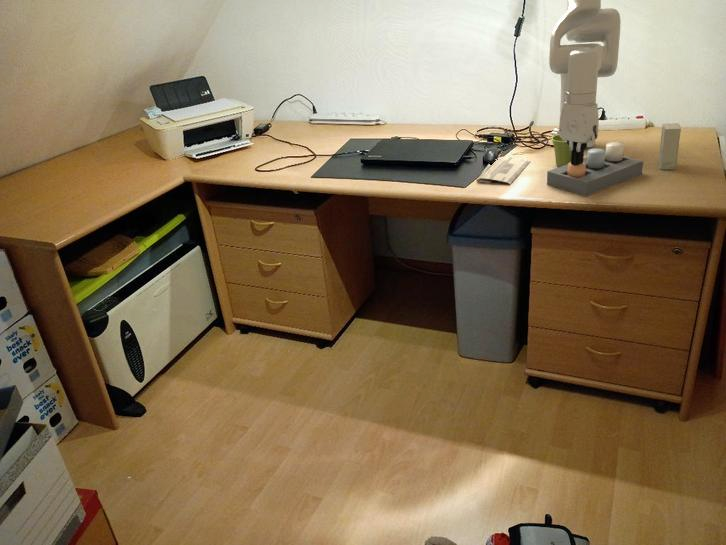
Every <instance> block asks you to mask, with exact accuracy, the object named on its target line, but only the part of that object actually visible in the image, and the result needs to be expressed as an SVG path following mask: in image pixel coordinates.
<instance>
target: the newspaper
mask: <svg viewBox="0 0 726 545" xmlns="http://www.w3.org/2000/svg"><path fill="white" fill-rule="evenodd" d="M497 159H498V160H497ZM497 159H495V160H496V161H495V162H494V163H493V164H492V165H490V164H489V163H488V164H487V166H486V167H485V169H483V170H482V173H481V174H480V175H479V176H478V178H477V179H476V182H477V183H485V184H491V182H492V181H498V182H502V183H507V184H508V185H509V186H510V185H512V184H513V183H514V181H515V180H517V178H518V177H519V176H520V175H521V173H522V172H523V171H524V170H525V169H526V167H527V166H528V165H529V164H530V163H531V161H530V160H528V159H524V158H519V157H510V156H499V157H497Z"/></svg>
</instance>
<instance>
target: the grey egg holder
mask: <svg viewBox="0 0 726 545" xmlns="http://www.w3.org/2000/svg"><path fill="white" fill-rule="evenodd" d="M605 154H606V152H605ZM583 162H584V163H586V170H585V176H582V177H580V178H575V177H571V176H568V175H567V171H568V164H567V165H564V166H561V167H560V166H558V167H556V168H553V169H550V170H547V171H546V172H547V173H546V174H547V175H546V185H547V186H551V187H554V188H558V189H560V190H562V191H564V190H565V191H567V192H571V193H574V194H577V195H580V196H583V197H588V196H591V195H592V194H595V193H598V192H601V191H604V190H605V189H607V188H610V187H613V186H616V185H618V184H620V183H622V182H626V181H628V180H630V179H633V178H636V177H638V176H641V175H642V174H643V170H644V169H643V167H644V160H641V159H636V158H632V157H629V156H624V155H623V159H622V160H621V161H608V160H606V159H605V164H604V167H602V168H590V167H587V157H584V159H583Z"/></svg>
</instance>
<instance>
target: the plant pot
mask: <svg viewBox="0 0 726 545" xmlns="http://www.w3.org/2000/svg"><path fill="white" fill-rule="evenodd" d="M551 140H552V144H553V147H554V148H553V149H554V157H555V158H554V159H555V165H556V166H558V167H561V166H564V165H567V164H568V163H570V162H571V150H570V149H569V145H568V143H567V142H565V141H563V140H562V138H560V136H559V134H558V135H555V136H554V135H552V136H551Z"/></svg>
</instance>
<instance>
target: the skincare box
mask: <svg viewBox="0 0 726 545" xmlns="http://www.w3.org/2000/svg"><path fill="white" fill-rule="evenodd" d="M661 125H662V127H661V136H660V145H659V153H658V154H659V155H658V167H659V169H660V170H676V169H677V164H678V155H679V146H680V138H681V132H682V126H680V124H679V122H678V123H662V124H661Z"/></svg>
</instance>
